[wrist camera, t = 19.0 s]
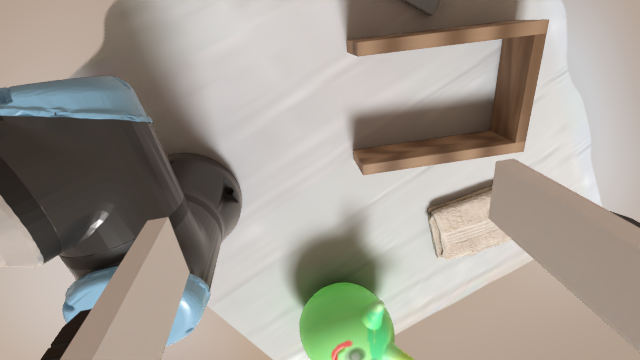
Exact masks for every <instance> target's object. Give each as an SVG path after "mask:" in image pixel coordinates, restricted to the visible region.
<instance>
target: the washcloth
mask: <svg viewBox="0 0 640 360" xmlns="http://www.w3.org/2000/svg"><path fill="white" fill-rule="evenodd" d="M492 187H493V186H490V187H487V188H483V189H482V190H478V191H476V192H473V193H471V194H468V195H467V196H463V197H460V198H458V199H455V200H451V201H450V202H446V203H443V204H440V205H436V206H434V207H430V208H428V209H427V210H428V212H429V217H428V222H429V227H430V231H431V233H432V239H433V244H434V249H435V253H436V256H437V258H441V257H444V258H445V259H446V260H450V259H453V258H456V257H460V256H465V255H471V256H472V255H475V254H477V253H478V252H480V251H483V250H485V249H488V248H491V247H494V246H497V245H500V244H503V243H505V242H507V241H509V240H512V239H511V238H510V237H509V236H508V235H507V234H505V233H504V232H503V231H502V230H501V229H500V228H499V227H498V226H496V225H495V224H494V223H493V222H492V221H491V220H490V219H488V215H489V208H490V201H491V194H492Z"/></svg>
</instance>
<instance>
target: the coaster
mask: <svg viewBox="0 0 640 360" xmlns="http://www.w3.org/2000/svg"><path fill="white" fill-rule="evenodd" d="M403 1H405V2H407V3H408V4H410V5H412V6H414V7H415V8H417V9H419V10H421V11H422V12H424V13H426V14H428V15H429V16H430V15H433V14H434V12H435V10H436V8H437V6H438V4H439V2H440V0H403Z"/></svg>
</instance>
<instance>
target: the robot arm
mask: <svg viewBox="0 0 640 360" xmlns="http://www.w3.org/2000/svg"><path fill="white" fill-rule="evenodd" d="M152 123H153V121H152V119H151V118H150V117H148V116H147V114H146V112H145V110H144V108H143V107H142V105H141V103H140V101H139V99H138V97H137V95H136V93H135V91H134V90H133V88H132V87H131V86H130V85H129V84H128V83H127V82H126V81H124V80H122V79H120V78H117V77H114V76H94V77H83V78H73V79H64V80H56V81H48V82H40V83H33V84H26V85H19V86H12V87H9V88H0V267H2V266H17V267H35V268H36V267H39V266H41V265H43V264H44V263H46V262H47V261H49V260H51V259H52V258H54V257H55V256H57V255H59V256H60V257H61V259H62V261H63V262H64V263H65V265H66V266H67V267H68V269H69V270H70V271H71V273H72V274H73V275H74V277H75V279H76V281H75V282H74V283H73V284H72V285H71V286H70V288H68V290H67V292H66V300H65V302H64V305H63V308H62V309H63V316H64V319H65V321H66V323H67V324H66V325H65V326H64V327H63V328H62V329H61V331H60V332H59V334H58V335H57V337H56V338H55V340H54V341H53V342H52V344H51V348H49V349H48V350H47V351H46V353H45V354H44V355H43V357H42V358H41V360H161V359H162V356H163V353H164V350H165V347H166V346H168V345H171V344H173V343H175V342H177V341H179V340H181V339H183V338H184V337H186V336H187V335H188V334H190V333H191V332H192V331H193V330H194V328H195V327H196V326H197V324H198V323H199V322H200V320H201V318H202V315H203V312H204V310H205V307H206V305H207V303H208V301H209V298H210V288H211V284H212V279H213V275H214V271H215V267H216V262H217V258H218V254H219V250H220V245H221V243H222V241H223V240H224V239H225V238H226V237H227V236H228V235H229V234H230V233H231V232H232V230H233V229H234V228H235V226H236V224H237V222H238V220H239V217H240V213H241V207H242V195H241V190H240V187H239V185H238V183H237V181H236V179H235V178H234V176H233V175H232V174H231V173H230V172H229V171H228V170H227V169H226V168H225V167H224V166H222V165H221V164H220V163H218V162H216V161H214V160H212V159H210V158H208V157H205V156H202V155H197V154H190V153H180V154H173V155H169V156H166V154H165V151H164V149H163V147H162V145H161V143H160V141H159V138H158V136H157V134H156V132H155V130H154V128H153V126H152ZM488 219H490V220H491V221H492V222H493V223H494V224H495V225H496V226H498V227H499V228H500V229H501V230H502V231H503V232H504V233H505V234H507V235H508V236H509V237H510V238H511V239H512V240H513V241H514V242H516V243H517V244H518V245H519V246H520V247H521V248H522V249H523V250H525V251H526V252H527V253H528V254H529V255H530V256H531V257H532V258H534V259H535V260H536V261H537V262H538V263H539V264H540V265H541V266H543V267H544V268H545V269H546V270H547V271H548V272H549V273H551V274H552V275H553V276H554V277H555V278H556V279H557V280H558V281H560V282H561V283H562V284H563V285H564V286H565V287H566V288H567V289H568V290H570V291H571V292H572V293H573V294H574V295H575V296H576V297H577V298H579V299H580V300H581V301H582V302H583V303H584V304H585V305H587V306H588V307H589V308H590V309H591V310H592V311H593V312H594V313H595V314H597V315H598V316H599V317H600V318H601V319H602V320H603V321H604V322H606V323H607V324H608V325H609V326H610V327H611V328H612V329H613V330H615V331H616V332H617V333H618V334H619V335H620V336H621V337H622V338H624V339H625V340H626V341H627V342H628V343H629V344H631V345H632V346H633V347H634V348H635V349H636V350H637V351H639V353H640V223H639V222H637V221H635V220H633V219H631V218H628V217H625V216H623V215H619V214H617V213H614V212H611V211H608V210H606V209H604V208H603V207H601V206H599V205H597V204H595V203H593V202H592V201H590V200H588V199H586V198H584V197H583V196H581V195H579V194H577V193H575V192H573V191H572V190H570V189H568V188H566V187H564V186H563V185H561V184H559V183H557V182H555V181H553V180H552V179H550V178H548V177H546V176H544V175H543V174H541V173H539V172H537V171H535V170H533V169H532V168H530V167H528V166H526V165H524V164H523V163H521V162H519V161H517V160H515V159H509V160H503V161H497V162H496V165H495V172H494V180H493V187H492V194H491V201H490V208H489V215H488Z"/></svg>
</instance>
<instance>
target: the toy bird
mask: <svg viewBox="0 0 640 360" xmlns="http://www.w3.org/2000/svg"><path fill="white" fill-rule="evenodd" d="M300 337H301V341H302V344H303V347H304V349H305V351H306V353H307V355H308V357H309V358H310V360H414V359H413V358H412V357H411V356H409V355H408V354H407V353H405V352H404V351H403V350H401V349H400V348H399V347H397V346H396V345H395V344H394V340H395V335H394V328H393V324H392V320H391V318H390V315H389V313H388V311H387V310H386V308H385V306H384V303H383V302H382V301H381V300H379V299H378V298H377V297H376V296H375V295H374V294H373V293H372V292H370V291H369V290H367V289H366V288H364V287H362V286H360V285H357V284H353V283H347V282H342V283H335V284H331V285H328V286H326V287H324V288H322V289H320V290H319V291H317V292H316V293H315V294H314V295H313V296H312V297H311V298H310V299H309V301H308V302H307V303H306V305H305V307H304V309H303V311H302V314H301V318H300Z"/></svg>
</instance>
